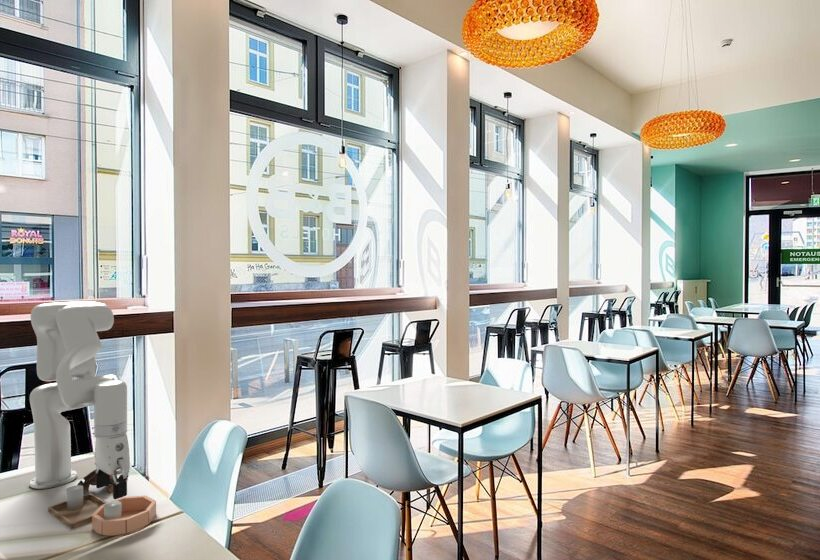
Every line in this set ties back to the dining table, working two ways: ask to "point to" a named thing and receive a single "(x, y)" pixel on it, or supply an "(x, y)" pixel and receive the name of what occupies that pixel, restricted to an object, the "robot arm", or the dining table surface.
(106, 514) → the stone
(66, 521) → the tray
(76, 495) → the stone
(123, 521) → the bowl
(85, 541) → the dining table surface
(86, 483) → the brown piece
